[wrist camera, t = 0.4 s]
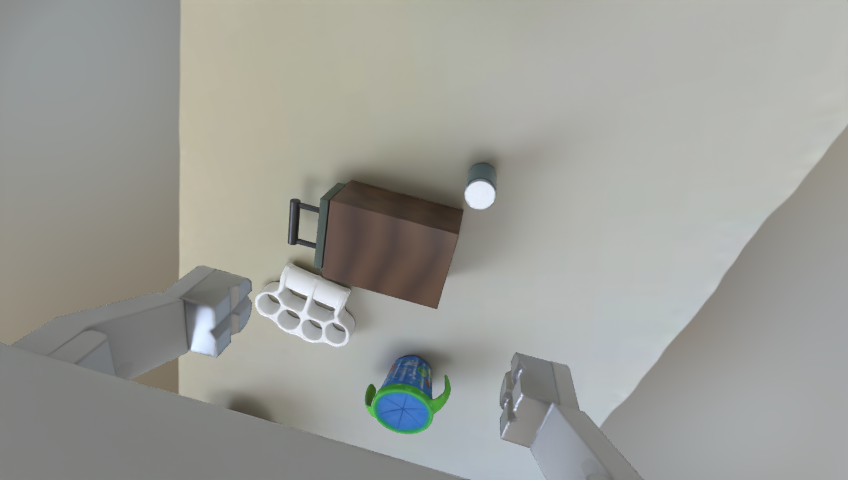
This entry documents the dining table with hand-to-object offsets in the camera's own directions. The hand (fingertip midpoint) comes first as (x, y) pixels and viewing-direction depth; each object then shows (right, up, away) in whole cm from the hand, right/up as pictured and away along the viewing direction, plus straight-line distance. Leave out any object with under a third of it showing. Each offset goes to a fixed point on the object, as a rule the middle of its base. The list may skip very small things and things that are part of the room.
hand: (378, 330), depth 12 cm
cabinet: (-3, +4, +51) cm, 51 cm away
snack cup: (-1, -22, +64) cm, 67 cm away
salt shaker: (+10, +12, +45) cm, 47 cm away
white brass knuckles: (-19, -9, +60) cm, 64 cm away
